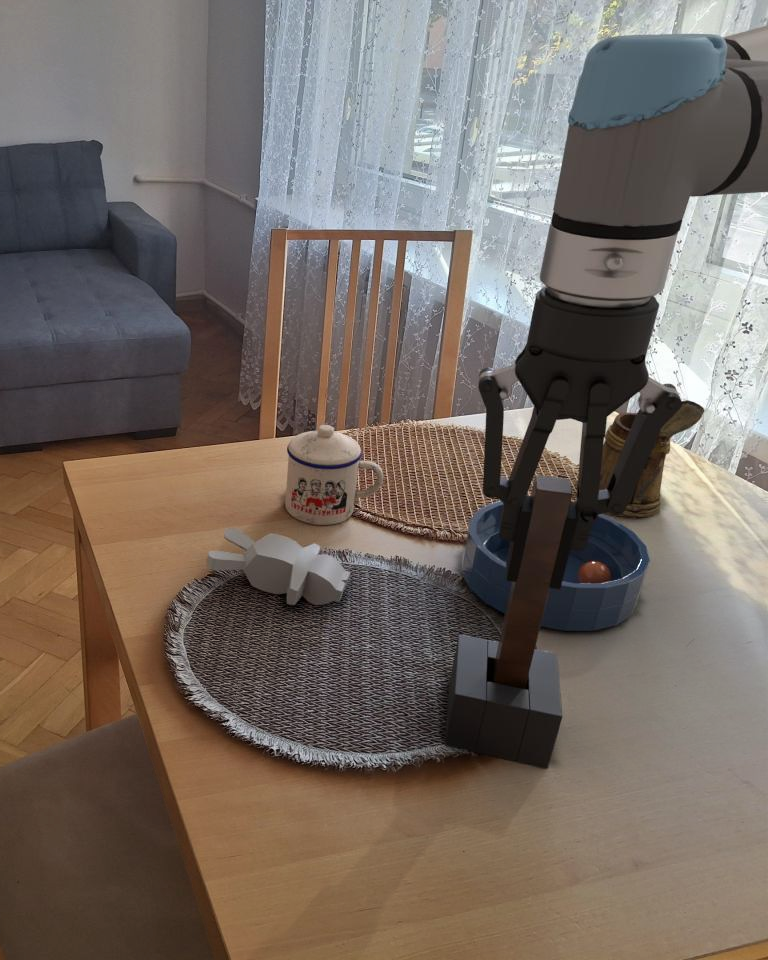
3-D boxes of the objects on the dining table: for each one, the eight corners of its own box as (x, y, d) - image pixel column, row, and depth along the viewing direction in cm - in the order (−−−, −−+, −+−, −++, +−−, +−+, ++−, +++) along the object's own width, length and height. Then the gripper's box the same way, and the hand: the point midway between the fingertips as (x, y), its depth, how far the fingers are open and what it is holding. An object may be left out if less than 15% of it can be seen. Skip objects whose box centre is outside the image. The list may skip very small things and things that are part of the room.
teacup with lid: (280, 523, 108) (285, 440, 102) (285, 488, 116) (291, 410, 110) (379, 533, 105) (390, 448, 100) (377, 496, 113) (388, 416, 108)
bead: (605, 582, 94) (612, 558, 93) (608, 599, 92) (616, 574, 90) (573, 577, 95) (580, 553, 94) (575, 593, 93) (582, 569, 91)
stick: (522, 677, 76) (570, 478, 66) (523, 696, 74) (572, 494, 64) (492, 671, 76) (535, 474, 67) (492, 689, 74) (536, 489, 65)
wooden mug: (605, 537, 103) (644, 400, 94) (570, 482, 115) (602, 355, 106) (685, 541, 102) (732, 402, 93) (642, 485, 113) (680, 357, 105)
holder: (543, 703, 79) (557, 653, 76) (547, 769, 73) (562, 716, 70) (449, 683, 82) (458, 634, 79) (444, 745, 75) (454, 693, 72)
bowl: (624, 556, 99) (637, 511, 97) (645, 650, 85) (661, 602, 82) (463, 531, 105) (471, 488, 102) (457, 616, 91) (466, 569, 88)
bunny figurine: (338, 594, 88) (203, 548, 93) (328, 631, 91) (198, 585, 96) (359, 547, 96) (233, 507, 101) (349, 583, 98) (227, 542, 103)
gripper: (474, 299, 58) (428, 584, 69) (745, 316, 52) (647, 621, 64) (476, 269, 64) (434, 536, 75) (719, 282, 59) (634, 566, 70)
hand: (532, 575), depth 69 cm, fingers closed on stick, 2 cm apart
